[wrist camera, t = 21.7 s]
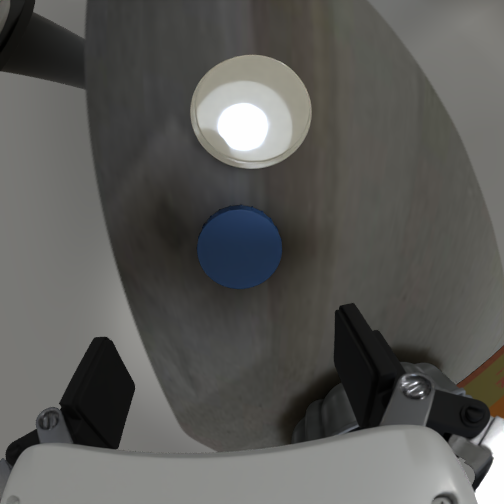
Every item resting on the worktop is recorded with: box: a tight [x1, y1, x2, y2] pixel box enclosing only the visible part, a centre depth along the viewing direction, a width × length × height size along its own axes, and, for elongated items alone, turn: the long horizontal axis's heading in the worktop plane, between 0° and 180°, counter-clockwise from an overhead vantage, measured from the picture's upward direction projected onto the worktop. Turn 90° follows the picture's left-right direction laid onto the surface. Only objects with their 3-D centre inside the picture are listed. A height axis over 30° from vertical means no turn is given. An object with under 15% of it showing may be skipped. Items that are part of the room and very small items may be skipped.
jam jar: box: [190, 55, 312, 169], centre depth 17 cm, size 7×7×10 cm
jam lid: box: [197, 205, 282, 289], centre depth 25 cm, size 7×7×2 cm
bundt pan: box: [291, 362, 472, 444], centre depth 31 cm, size 26×26×10 cm
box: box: [456, 346, 504, 419], centre depth 28 cm, size 17×9×20 cm, turn 122°
